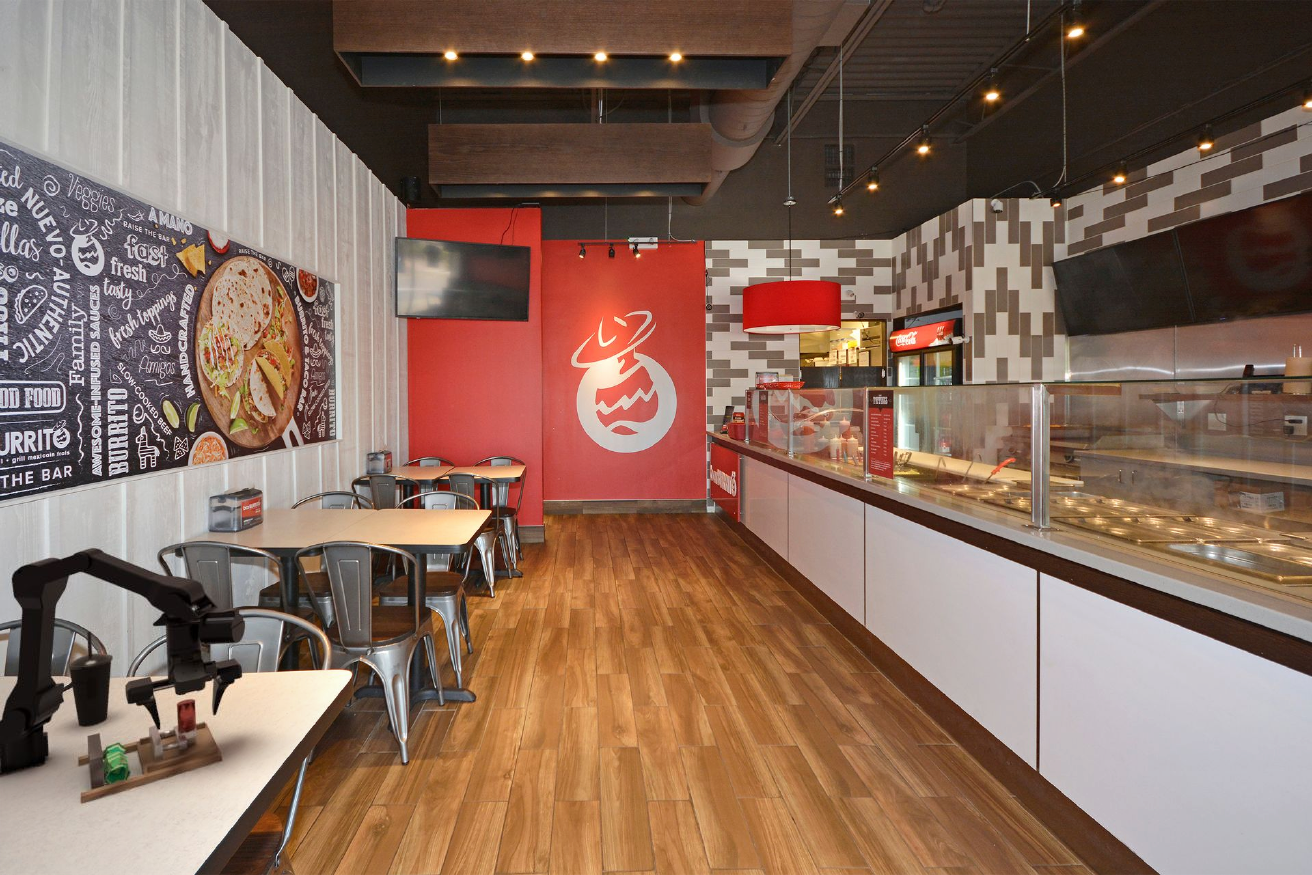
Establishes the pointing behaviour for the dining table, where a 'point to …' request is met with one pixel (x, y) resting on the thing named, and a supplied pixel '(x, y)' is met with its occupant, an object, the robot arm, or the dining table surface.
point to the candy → (115, 764)
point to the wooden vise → (149, 761)
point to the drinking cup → (91, 685)
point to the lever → (176, 731)
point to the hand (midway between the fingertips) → (187, 721)
